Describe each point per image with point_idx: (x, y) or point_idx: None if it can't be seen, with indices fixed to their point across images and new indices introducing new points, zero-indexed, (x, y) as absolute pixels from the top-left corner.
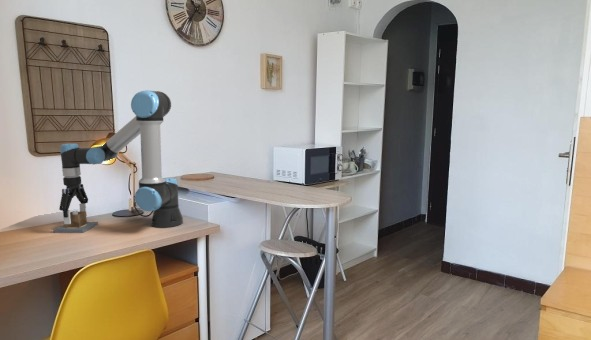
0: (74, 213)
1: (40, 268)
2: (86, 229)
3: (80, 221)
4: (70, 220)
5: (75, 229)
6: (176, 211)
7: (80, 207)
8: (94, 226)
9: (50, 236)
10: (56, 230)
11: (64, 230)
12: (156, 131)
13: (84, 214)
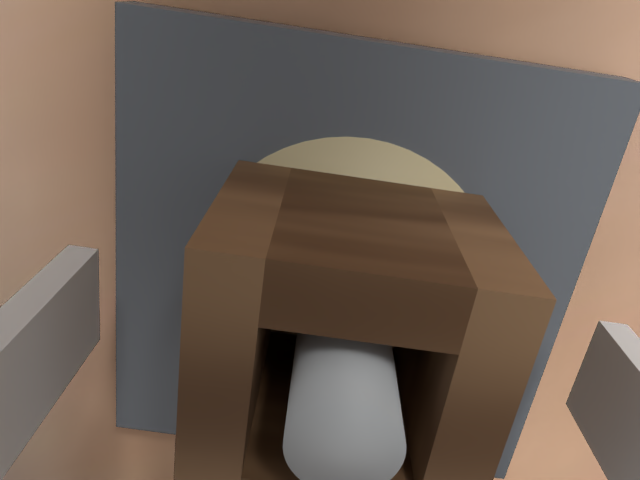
0: (401, 419)
1: None
2: (515, 62)
3: (441, 220)
4: (630, 356)
5: (585, 210)
6: None
7: (2, 458)
8: (257, 21)
9: None
10: (512, 440)
11: (544, 351)
12: None
13: (271, 237)
